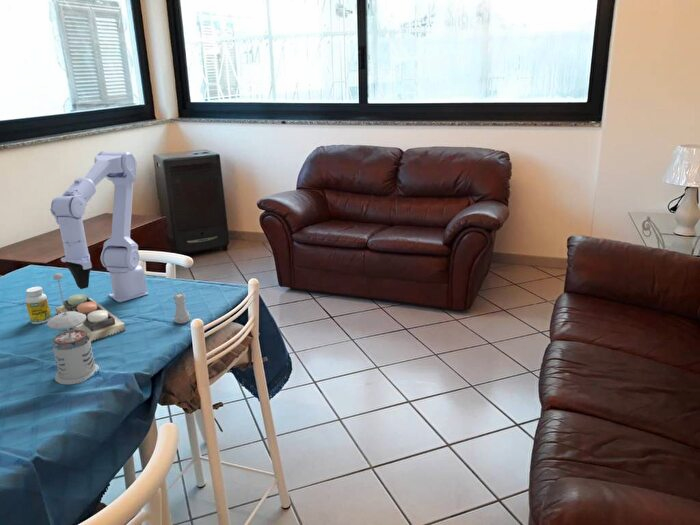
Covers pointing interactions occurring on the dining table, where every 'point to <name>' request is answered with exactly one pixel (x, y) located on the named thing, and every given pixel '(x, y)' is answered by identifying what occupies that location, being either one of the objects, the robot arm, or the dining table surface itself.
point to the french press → (77, 359)
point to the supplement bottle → (37, 305)
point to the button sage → (77, 299)
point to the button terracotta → (87, 307)
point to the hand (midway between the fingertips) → (83, 287)
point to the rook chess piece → (181, 309)
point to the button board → (98, 328)
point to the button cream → (97, 316)
